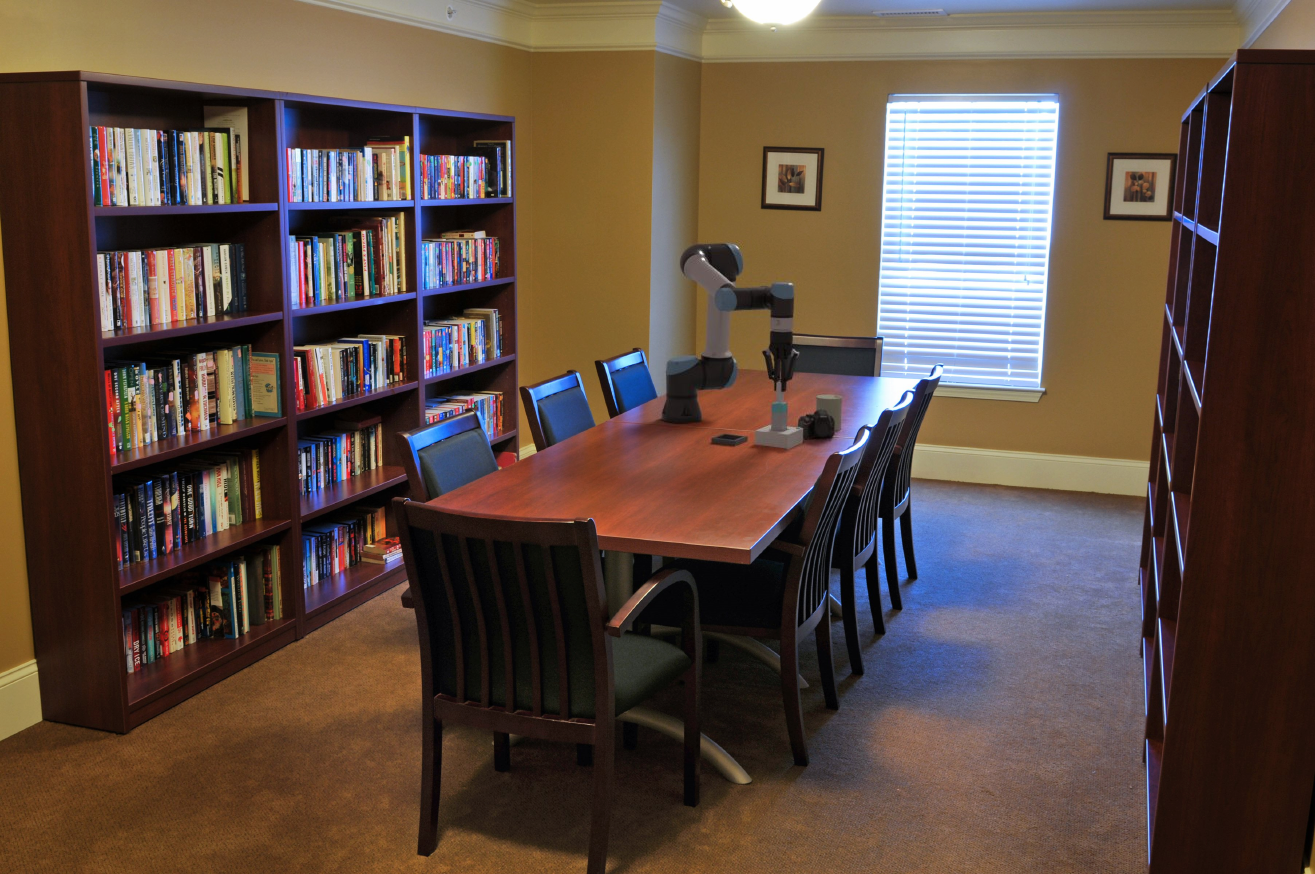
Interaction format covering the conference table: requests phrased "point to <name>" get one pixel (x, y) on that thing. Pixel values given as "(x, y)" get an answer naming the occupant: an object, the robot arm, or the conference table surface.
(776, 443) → the port panel
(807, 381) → the conference table surface
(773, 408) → the plug
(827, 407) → the can
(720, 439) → the dark grey square tray
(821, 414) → the camera
